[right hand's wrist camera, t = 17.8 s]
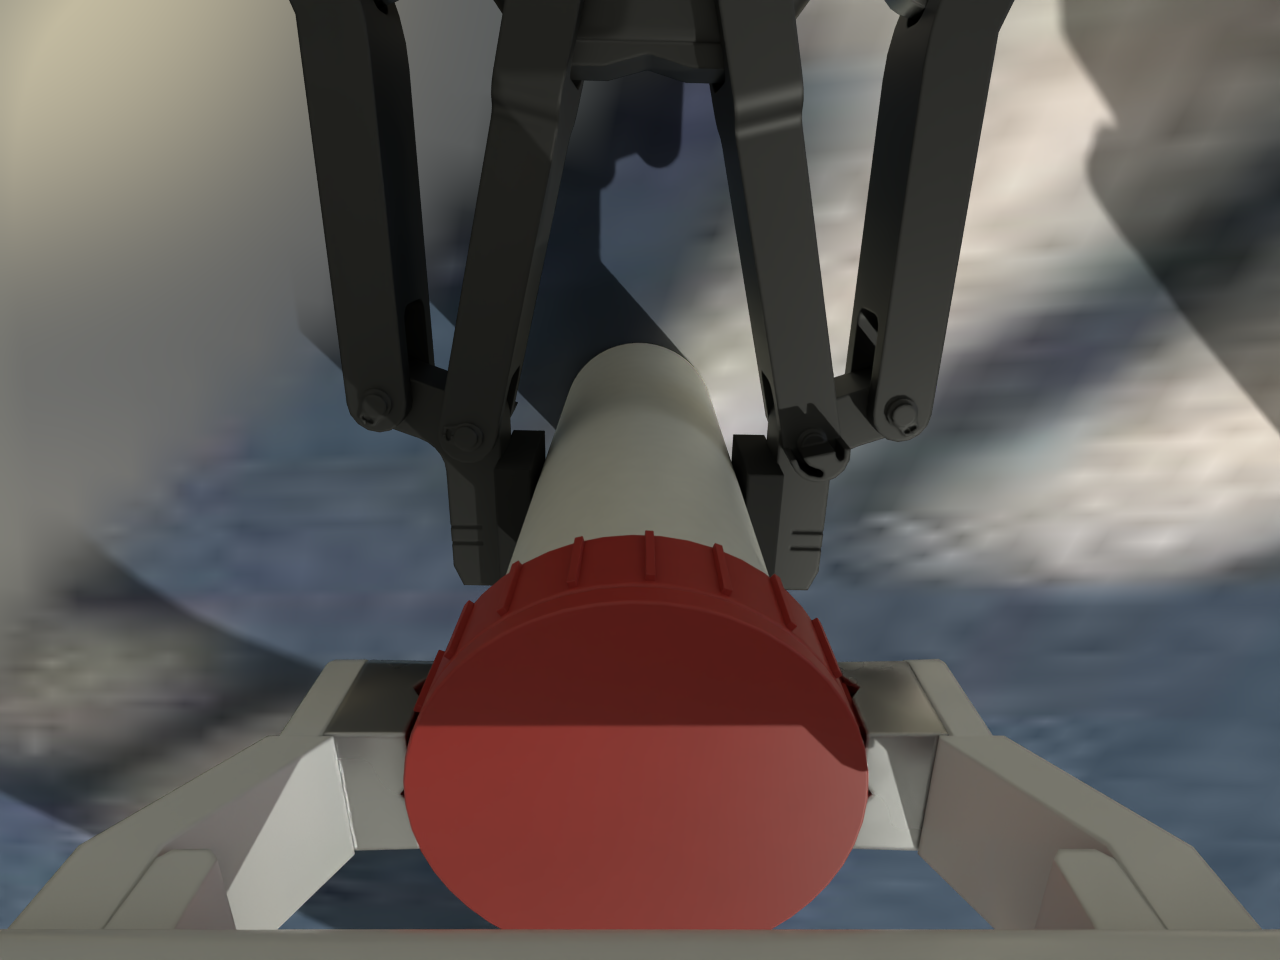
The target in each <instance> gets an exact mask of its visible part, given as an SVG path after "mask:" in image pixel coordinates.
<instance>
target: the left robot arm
mask: <svg viewBox="0 0 1280 960" xmlns="http://www.w3.org/2000/svg"><path fill="white" fill-rule="evenodd" d="M289 1H290V3H291V5H292V7H293V10H294V12H295V14H296V21H297V29H298V37H299V44H300V52H301V59H302V67H303V75H304V82H305V90H306V97H307V105H308V113H309V120H310V128H311V135H312V143H313V150H314V158H315V166H316V173H317V181H318V188H319V196H320V204H321V211H322V219H323V226H324V234H325V242H326V249H327V257H328V265H329V272H330V280H331V287H332V295H333V302H334V310H335V318H336V325H337V333H338V340H339V348H340V356H341V363H342V371H343V378H344V386H345V394H346V401H347V406H348V409H349V412H350V415H351V416H352V417H353V418H354V420H355V421H356V422H357V423H358V424H359V425H361V426H362V427H364V428H366V429H367V430H371V431H376V432H384V431H389V430H392V429H395V430H398V431H401V432H403V433H406V434H409V435H412V436H415V437H418V438H420V439H422V440H424V441H426V442H428V443H429V444H431V445H432V446H433V447H435V448H436V450H437V451H438V452H439V453H440V455H441V456H442V458H443V460H444V462H445V467H446V471H447V484H448V497H449V509H450V522H451V535H452V541H453V544H452V547H453V560H454V567H455V569H456V571H457V572H458V574H459V576H460V578H461V580H462V582H463V584H464V585H494V584H495V583H496V582H497V581H498V580H499V579H501V578H502V577H503V576H505V575H506V573H507V570H508V567H509V564H510V561H511V558H512V556H513V553H514V550H515V547H516V544H517V541H518V538H519V535H520V532H521V530H522V527H523V524H524V521H525V518H526V515H527V512H528V509H529V506H530V503H531V501H532V498H533V495H534V492H535V489H536V486H537V483H538V480H539V477H540V474H541V472H542V469H543V466H544V463H545V431H530V430H514V431H513V433H512V435H511V424H510V417H511V416H512V414H513V412H514V410H515V408H516V406H517V403H518V402H515V400H516V395H517V390H518V385H519V380H520V375H521V371H522V366H523V361H524V356H525V351H526V346H527V342H528V337H529V332H530V327H531V322H532V317H533V313H534V308H535V303H536V298H537V293H538V288H539V284H540V279H541V274H542V269H543V264H544V259H545V255H546V250H547V245H548V240H549V235H550V230H551V226H552V221H553V216H554V211H555V206H556V201H557V197H558V192H559V187H560V182H561V177H562V172H563V168H564V163H565V158H566V153H567V148H568V144H569V139H570V135H571V132H572V129H573V127H574V123H575V119H576V115H577V111H578V106H579V101H580V97H581V92H582V87H583V82H584V80H593V81H609V80H613V79H616V78H620V77H624V76H627V75H631V74H634V73H638V72H642V71H652V72H655V73H658V74H661V75H664V76H667V77H670V78H673V79H676V80H679V81H682V82H685V83H709V84H710V91H711V97H712V103H713V109H714V115H715V120H716V125H717V129H718V132H719V135H720V139H721V143H722V148H723V155H724V161H725V167H726V173H727V179H728V185H729V192H730V198H731V204H732V210H733V216H734V223H735V229H736V235H737V241H738V247H739V253H740V260H741V266H742V272H743V278H744V284H745V290H746V297H747V303H748V309H749V315H750V321H751V328H752V334H753V340H754V346H755V352H756V358H757V365H758V371H759V377H760V383H761V389H762V395H763V402H764V408H765V414H766V418H767V420H768V431H767V440H766V438H765V436H764V435H735V434H733V447H732V461H731V463H732V466H733V469H734V472H735V475H736V478H737V481H738V484H739V487H740V490H741V493H742V496H743V499H744V502H745V505H746V508H747V511H748V514H749V517H750V520H751V523H752V526H753V530H754V533H755V536H756V539H757V542H758V545H759V548H760V551H761V554H762V557H763V560H764V563H765V566H766V569H767V572H768V575H769V577H771V576H772V575H773V574H776V575H777V576H778V577H780V579H781V582H782V584H783V587H784V589H785V590H808V589H809V587H810V585H811V583H812V582H813V580H814V578H815V576H816V575H817V573H818V571H819V563H820V555H821V546H822V538H823V530H824V522H825V514H826V506H827V497H828V489H829V481H830V480H831V479H834V478H836V477H837V476H838V475H839V474H840V473H841V472H843V471H844V469H845V468H846V466H847V464H848V462H849V460H850V450H851V449H853V448H855V447H857V446H860V445H863V444H867V443H870V442H873V441H876V440H879V439H883V438H886V439H887V440H892V441H897V442H900V441H906V440H910V439H912V438H914V437H916V436H917V435H919V434H920V433H921V432H922V431H923V430H924V429H925V428H926V426H927V425H928V422H929V420H930V417H931V414H932V408H933V403H934V397H935V391H936V386H937V380H938V374H939V369H940V363H941V357H942V351H943V346H944V340H945V334H946V329H947V323H948V317H949V312H950V306H951V300H952V295H953V289H954V283H955V277H956V272H957V266H958V260H959V255H960V249H961V243H962V238H963V232H964V226H965V220H966V215H967V209H968V203H969V198H970V192H971V186H972V181H973V175H974V169H975V163H976V158H977V152H978V146H979V141H980V135H981V129H982V124H983V118H984V112H985V107H986V101H987V95H988V89H989V84H990V78H991V72H992V67H993V61H994V55H995V50H996V44H997V38H998V32H999V30H1000V28H1001V26H1002V24H1003V22H1004V20H1005V18H1006V16H1007V14H1008V12H1009V10H1010V8H1011V6H1012V4H1013V2H1014V0H885V2H886V3H887V4H888V6H889V7H890V9H892V10H893V11H894V12H896V13H897V14H899V15H900V17H899V19H898V22H897V24H896V27H895V30H894V33H893V37H892V40H891V44H890V47H889V51H888V54H887V60H886V65H885V71H884V76H883V82H882V90H881V98H880V105H879V113H878V121H877V129H876V136H875V144H874V152H873V160H872V168H871V175H870V183H869V191H868V199H867V206H866V214H865V222H864V230H863V237H862V245H861V253H860V261H859V269H858V276H857V284H856V292H855V300H854V307H853V315H852V323H851V331H850V338H849V346H848V354H847V362H846V370H845V374H844V375H841V376H838V377H835V378H834V376H833V368H832V360H831V352H830V344H829V336H828V328H827V320H826V312H825V304H824V296H823V288H822V280H821V272H820V264H819V256H818V248H817V240H816V232H815V224H814V215H813V207H812V199H811V191H810V183H809V175H808V167H807V159H806V151H805V143H804V135H803V127H802V108H803V99H804V89H803V77H802V69H801V60H800V52H799V44H798V36H797V28H796V18H797V17H798V16H799V14H800V13H801V12H802V10H803V9H804V7H805V6H806V5H807V3H808V2H809V0H494V2H495V3H496V4H497V6H498V8H499V9H500V11H501V12H502V14H503V15H502V20H501V26H500V32H499V38H498V44H497V50H496V56H495V62H494V68H493V76H492V85H491V98H492V113H491V120H490V126H489V132H488V138H487V144H486V150H485V156H484V162H483V167H482V173H481V179H480V185H479V191H478V197H477V203H476V209H475V214H474V220H473V226H472V232H471V238H470V244H469V250H468V256H467V261H466V267H465V273H464V279H463V285H462V291H461V297H460V303H459V308H458V314H457V320H456V326H455V332H454V338H453V344H452V350H451V355H450V361H449V367H448V371H447V370H444V369H441V368H438V367H436V366H435V364H434V352H433V341H432V329H431V317H430V305H429V294H428V282H427V270H426V259H425V247H424V235H423V224H422V212H421V200H420V188H419V177H418V165H417V153H416V142H415V130H414V118H413V107H412V95H411V83H410V71H409V63H408V56H407V49H406V42H405V38H404V34H403V29H402V25H401V21H400V17H399V14H398V11H397V8H396V5H395V2H396V1H398V0H289Z"/></svg>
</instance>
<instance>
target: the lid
mask: <svg viewBox="0 0 1280 960" xmlns="http://www.w3.org/2000/svg"><path fill="white" fill-rule="evenodd" d="M841 676H842V673H841V671H840V668H839V666H838V663H837V661H836V658H835V656H834V654H833V651H832V649H831V646H830V644H829V642H828V639H827V637H826V634H825V632H824V629H823V627H822V625H821V623H820V621H819V619H818V618H816V619H814V620H811V619H810V617H809V616H808V615H807V613H806V612H805V610H804V609H803V608H802V606H801V605H800V604H799V603H798V602H797V601H796V600H795V599H794V598H793V597H792V596H791V595H790V594H789V593H788V592H787V591H786V590H785V589H784V587H783V584H782V582H781V579H780V577H778V576H777V575H776V574H773V575H772V576H771V577H769V576H768V575H766V574H765V573H764V572H762V571H760V570H759V569H757V568H755V567H753V566H752V565H750V564H748V563H747V562H745V561H743V560H742V559H739V558H737V557H735V556H732V555H730V554H728V553H725V552H724V551H723V546H722V545H719V544H717V543H714V545H713V547H709V546H706V545H702V544H699V543H695V542H692V541H688V540H683V539H676V538H670V537H664V536H654V531H650V530H645V535H622V536H609V537H601V538H596V539H591V540H586V541H584V538H583V536H580V537H576V538H575V539H574V543H573V544H570V545H567V546H564V547H561V548H558V549H555V550H552V551H549V552H547V553H544V554H542V555H540V556H538V557H536V558H534V559H532V560H530V561H528V562H526V563H524V564H521V563H520V561H516V562H515V563H513V564H512V566H511V569H510V572H509V573H508V574H507V575H505V576H503V577H502V578H501V579H499V580H498V581H497V582H496V583H495V584H494V585H493V586H491V587H490V588H489V589H488V590H487V591H486V592H484V593H483V594H482V595H481V596H480V597H479V599H478V600H477V601H476V602H475V603H473V602H471V601H470V600H469V601H468V602H467V603H466V604H465V606H464V608H463V610H462V613H461V615H460V618H459V620H458V622H457V625H456V627H455V629H454V632H453V634H452V637H451V639H450V641H449V644H448V646H447V648H446V651H441V650H439V651H438V653H437V655H436V658H435V660H434V662H433V665H432V667H431V669H430V672H429V674H428V676H427V679H426V681H425V683H424V685H423V688H422V690H421V692H420V695H419V697H418V699H417V702H416V704H415V707H414V711H416V712H419V715H418V717H417V720H416V722H415V725H414V727H413V729H412V732H411V735H410V739H409V743H408V747H407V751H406V755H405V762H404V775H403V786H404V797H405V806H406V810H407V814H408V818H409V822H410V826H411V829H412V832H413V834H414V836H415V839H416V841H417V843H418V845H419V848H420V850H421V852H422V853H423V855H424V857H425V858H426V860H427V861H428V863H429V865H430V866H431V868H432V869H433V871H434V872H435V873H436V875H437V876H438V877H439V878H440V879H441V881H442V882H443V883H444V884H445V885H446V887H447V888H448V889H449V890H450V891H451V892H452V893H453V894H454V895H455V896H456V897H458V898H459V899H460V900H461V901H462V902H463V903H464V904H465V905H466V906H467V907H469V908H470V909H471V910H473V911H474V912H476V913H477V914H478V915H480V916H481V917H482V918H484V919H485V920H487V921H488V922H490V923H491V924H493V925H495V926H497V927H499V928H500V929H744V930H771V929H773V928H774V927H776V926H777V925H779V924H781V923H782V922H784V921H786V920H787V919H789V918H790V917H792V916H793V915H794V914H796V913H797V912H798V911H800V910H801V909H802V908H803V907H805V906H806V905H807V904H808V903H810V902H811V901H812V900H813V899H814V898H815V897H816V896H817V895H818V894H819V893H820V892H821V891H822V890H823V889H824V888H825V887H826V886H827V885H828V884H829V883H830V881H831V880H832V879H833V877H834V876H835V875H836V873H837V872H838V871H839V870H840V868H841V867H842V866H843V864H844V862H845V860H846V859H847V857H848V855H849V853H850V852H851V850H852V848H853V846H854V844H855V842H856V839H857V837H858V834H859V831H860V829H861V826H862V823H863V819H864V815H865V810H866V805H867V800H868V782H869V771H868V764H867V757H866V749H865V746H864V743H863V740H862V737H861V733H860V730H859V729H860V725H859V723H858V720H857V718H856V715H855V713H854V711H853V708H852V706H851V704H852V698H851V696H850V693H849V691H848V688H847V686H846V684H844V683H842V681H841V679H840V677H841Z"/></svg>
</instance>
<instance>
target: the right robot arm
mask: <svg viewBox="0 0 1280 960" xmlns="http://www.w3.org/2000/svg"><path fill="white" fill-rule="evenodd" d="M433 662H434V661H407V660H370V661H369V660H334V661H331V662H329V663H328V664H327V665H326V666H325V668H324V669H323V671H322V672H321V674H320V675H319V677H318V678H317V680H316V681H315V683H314V684H313V686H312V687H311V689H310V690H309V692H308V693H307V695H306V696H305V698H304V699H303V701H302V702H301V704H300V705H299V707H298V708H297V710H296V711H295V713H294V714H293V716H292V717H291V719H290V720H289V722H288V723H287V725H286V726H285V728H284V729H283V731H282V732H281V734H280V735H279V736H267V737H265V738H264V739H262V740H260V741H258V742H257V743H255V744H253V745H251V746H250V747H248V748H246V749H245V750H243V751H241V752H239V753H238V754H236V755H234V756H233V757H231V758H229V759H227V760H226V761H224V762H222V763H220V764H219V765H217V766H215V767H214V768H212V769H210V770H208V771H207V772H205V773H203V774H201V775H200V776H198V777H196V778H195V779H193V780H191V781H189V782H188V783H186V784H184V785H183V786H181V787H179V788H177V789H176V790H174V791H172V792H170V793H169V794H167V795H165V796H164V797H162V798H160V799H158V800H157V801H155V802H153V803H151V804H150V805H148V806H146V807H145V808H143V809H141V810H139V811H138V812H136V813H134V814H133V815H131V816H129V817H127V818H126V819H124V820H122V821H120V822H119V823H117V824H115V825H114V826H112V827H110V828H108V829H107V830H105V831H103V832H102V833H100V834H98V835H96V836H95V837H93V838H91V839H89V840H88V841H86V842H84V843H83V844H81V845H79V846H78V847H77V848H76V849H75V851H74V852H73V853H72V854H71V855H70V856H69V858H68V859H67V860H66V861H65V862H64V863H63V865H62V866H61V867H60V868H59V869H58V870H57V872H56V873H55V874H54V875H53V876H52V877H51V879H50V880H49V881H48V882H47V883H46V884H45V886H44V887H43V888H42V889H41V890H40V891H39V893H38V894H37V895H36V896H35V897H34V898H33V900H32V901H31V902H30V903H29V904H28V905H27V907H26V908H25V909H24V910H23V911H22V912H21V914H20V915H19V916H18V917H17V918H16V919H15V921H14V922H13V923H12V924H11V925H10V926H9V928H8V929H0V960H1280V929H1261V928H1260V926H1259V925H1258V924H1257V923H1256V922H1255V920H1254V919H1253V918H1252V917H1251V916H1250V914H1249V913H1248V912H1247V911H1246V910H1245V908H1244V907H1243V906H1242V905H1241V904H1240V902H1239V901H1238V900H1237V899H1236V898H1235V896H1234V895H1233V894H1232V893H1231V892H1230V890H1229V889H1228V888H1227V887H1226V886H1225V884H1224V883H1223V882H1222V881H1221V880H1220V879H1219V877H1218V876H1217V875H1216V874H1215V873H1214V871H1213V870H1212V869H1211V868H1210V867H1209V865H1208V864H1207V863H1206V862H1205V861H1204V859H1203V858H1202V857H1201V856H1200V855H1199V853H1198V852H1197V851H1196V850H1195V849H1194V847H1192V846H1191V845H1189V844H1187V843H1186V842H1184V841H1182V840H1180V839H1179V838H1177V837H1175V836H1174V835H1172V834H1170V833H1168V832H1167V831H1165V830H1163V829H1162V828H1160V827H1158V826H1157V825H1155V824H1153V823H1151V822H1150V821H1148V820H1146V819H1145V818H1143V817H1141V816H1140V815H1138V814H1136V813H1134V812H1133V811H1131V810H1129V809H1128V808H1126V807H1124V806H1123V805H1121V804H1119V803H1117V802H1116V801H1114V800H1112V799H1111V798H1109V797H1107V796H1106V795H1104V794H1102V793H1100V792H1099V791H1097V790H1095V789H1094V788H1092V787H1090V786H1089V785H1087V784H1085V783H1083V782H1082V781H1080V780H1078V779H1077V778H1075V777H1073V776H1071V775H1070V774H1068V773H1066V772H1065V771H1063V770H1061V769H1060V768H1058V767H1056V766H1054V765H1053V764H1051V763H1049V762H1048V761H1046V760H1044V759H1043V758H1041V757H1039V756H1037V755H1036V754H1034V753H1032V752H1031V751H1029V750H1027V749H1026V748H1024V747H1022V746H1020V745H1019V744H1017V743H1015V742H1014V741H1012V740H1010V739H1009V738H1007V737H1005V736H993V735H992V734H991V732H990V731H989V729H988V728H987V726H986V725H985V723H984V721H983V720H982V718H981V717H980V715H979V714H978V712H977V711H976V709H975V708H974V706H973V705H972V703H971V702H970V700H969V699H968V697H967V696H966V694H965V693H964V691H963V690H962V688H961V686H960V685H959V683H958V682H957V680H956V679H955V677H954V676H953V674H952V673H951V671H950V670H949V668H948V667H947V665H946V664H945V663H944V662H943V661H941V660H939V659H927V660H903V661H874V662H837V663H838V666H839V668H840V671H841V673H842V676H841V677H840V679H841V681H842V683H844V684H846V686H847V688H848V691H849V693H850V696H851V698H852V704H851V706H852V708H853V711H854V713H855V715H856V718H857V720H858V723H859V725H860V729H859V730H860V733H861V737H862V740H863V743H864V746H865V749H866V757H867V764H868V771H869V782H868V800H867V805H866V810H865V815H864V819H863V823H862V826H861V829H860V831H859V834H858V837H857V839H856V842H855V844H854V846H853V848H852V849H883V850H918V854H919V855H920V856H921V857H922V858H923V859H924V860H925V861H926V862H927V863H928V864H929V865H930V866H931V867H932V868H933V869H934V870H935V871H936V872H937V873H938V874H939V875H940V876H941V877H942V878H943V879H944V880H945V881H946V882H947V883H948V884H949V885H950V886H951V887H952V888H953V889H954V890H955V891H956V892H957V893H958V894H959V895H960V896H961V897H962V898H963V899H965V900H966V901H967V902H968V903H969V904H970V905H971V906H972V907H973V908H974V909H975V910H976V911H977V912H978V913H979V914H980V915H981V916H982V917H983V918H984V919H985V920H986V921H987V922H988V923H989V924H990V925H991V926H992V927H993V928H994V929H995V930H744V929H317V930H277V929H278V928H279V927H280V926H281V925H282V924H283V923H284V922H285V921H286V920H287V919H288V918H289V917H290V916H291V915H293V914H294V913H295V912H296V911H297V910H298V909H299V908H300V907H301V906H302V905H303V904H304V903H305V902H306V901H307V900H308V899H309V898H310V897H311V896H312V895H313V894H314V893H315V892H316V891H317V890H318V889H319V888H320V887H321V886H322V885H324V884H325V883H326V882H327V881H328V880H329V879H330V878H331V877H332V876H333V875H334V874H335V873H336V872H337V871H338V870H339V869H340V868H341V867H342V866H343V865H344V864H345V863H346V862H347V861H348V860H349V859H350V858H351V857H352V856H354V855H355V852H354V850H388V849H420V848H419V845H418V843H417V841H416V839H415V836H414V834H413V832H412V829H411V826H410V822H409V818H408V814H407V810H406V806H405V797H404V786H403V775H404V762H405V755H406V751H407V747H408V743H409V739H410V735H411V732H412V729H413V727H414V725H415V722H416V720H417V717H418V715H419V712H416V711H414V707H415V704H416V702H417V699H418V697H419V695H420V692H421V690H422V688H423V685H424V683H425V681H426V679H427V676H428V674H429V672H430V669H431V667H432V665H433Z"/></svg>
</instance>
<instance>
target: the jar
mask: <svg viewBox="0 0 1280 960" xmlns="http://www.w3.org/2000/svg"><path fill="white" fill-rule="evenodd" d="M645 530H650V531H654V536H664V537H670V538H676V539H683V540H688V541H692V542H695V543H699V544H702V545H706V546H709V547H713V545H714V543H717V544H719V545H722V546H723V551H724V552H725V553H728V554H730V555H732V556H735V557H737V558H739V559H742V560H743V561H745V562H747V563H748V564H750V565H752V566H753V567H755V568H757V569H759V570H760V571H762V572H764V573H765V574H766V575H768V572H767V569H766V566H765V563H764V560H763V557H762V554H761V551H760V548H759V545H758V542H757V539H756V536H755V533H754V530H753V526H752V523H751V520H750V517H749V514H748V511H747V508H746V505H745V502H744V499H743V496H742V493H741V490H740V487H739V484H738V481H737V478H736V475H735V472H734V469H733V466H732V463H731V460H730V457H729V454H728V451H727V448H726V444H725V441H724V438H723V435H722V432H721V429H720V426H719V423H718V420H717V417H716V414H715V411H714V408H713V405H712V402H711V399H710V396H709V393H708V390H707V387H706V385H705V383H704V381H703V379H702V377H701V376H700V375H699V373H698V372H697V370H696V369H695V368H694V367H693V366H692V365H691V364H690V363H689V362H688V361H687V360H686V359H684V358H683V357H682V356H680V355H679V354H677V353H675V352H674V351H671V350H669V349H667V348H664V347H661V346H658V345H654V344H648V343H630V344H624V345H619V346H616V347H613V348H610V349H608V350H606V351H604V352H602V353H600V354H598V355H597V356H596V357H594V358H593V359H591V360H590V361H589V362H588V363H587V364H586V365H585V366H584V367H583V368H582V370H581V371H580V372H579V373H578V375H577V376H576V378H575V380H574V381H573V383H572V386H571V388H570V390H569V393H568V396H567V399H566V402H565V405H564V408H563V411H562V414H561V416H560V419H559V422H558V425H557V428H556V431H555V434H554V437H553V440H552V443H551V445H550V448H549V451H548V454H547V457H546V460H545V463H544V466H543V469H542V472H541V474H540V477H539V480H538V483H537V486H536V489H535V492H534V495H533V498H532V501H531V503H530V506H529V509H528V512H527V515H526V518H525V521H524V524H523V527H522V530H521V532H520V535H519V538H518V541H517V544H516V547H515V550H514V553H513V556H512V558H511V561H510V564H509V567H508V570H507V573H506V575H507V574H508V573H509V572H510V569H511V566H512V564H513V563H515V562H516V561H520V563H521V564H524V563H526V562H528V561H530V560H532V559H534V558H536V557H538V556H540V555H542V554H544V553H547V552H549V551H552V550H555V549H558V548H561V547H564V546H567V545H570V544H573V543H574V539H575V538H576V537H580V536H583V538H584V541H586V540H591V539H596V538H601V537H609V536H622V535H645ZM768 576H769V575H768Z"/></svg>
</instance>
